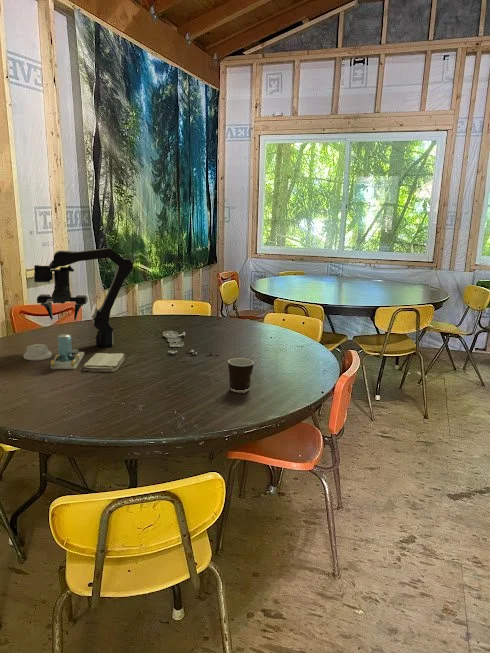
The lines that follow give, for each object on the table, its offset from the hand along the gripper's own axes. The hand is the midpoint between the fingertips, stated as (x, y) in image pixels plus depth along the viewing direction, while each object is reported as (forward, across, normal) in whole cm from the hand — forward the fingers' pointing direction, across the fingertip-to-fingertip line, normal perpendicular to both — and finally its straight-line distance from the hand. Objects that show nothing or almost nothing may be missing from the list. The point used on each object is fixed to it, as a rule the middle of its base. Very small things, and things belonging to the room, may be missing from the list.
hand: (63, 319), depth 190 cm
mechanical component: (+12, -7, -13) cm, 19 cm away
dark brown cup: (+12, +68, -49) cm, 85 cm away
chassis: (+12, +5, -18) cm, 23 cm away
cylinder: (+11, +5, -23) cm, 26 cm away
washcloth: (+13, +19, -22) cm, 32 cm away
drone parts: (+13, +53, +6) cm, 54 cm away
